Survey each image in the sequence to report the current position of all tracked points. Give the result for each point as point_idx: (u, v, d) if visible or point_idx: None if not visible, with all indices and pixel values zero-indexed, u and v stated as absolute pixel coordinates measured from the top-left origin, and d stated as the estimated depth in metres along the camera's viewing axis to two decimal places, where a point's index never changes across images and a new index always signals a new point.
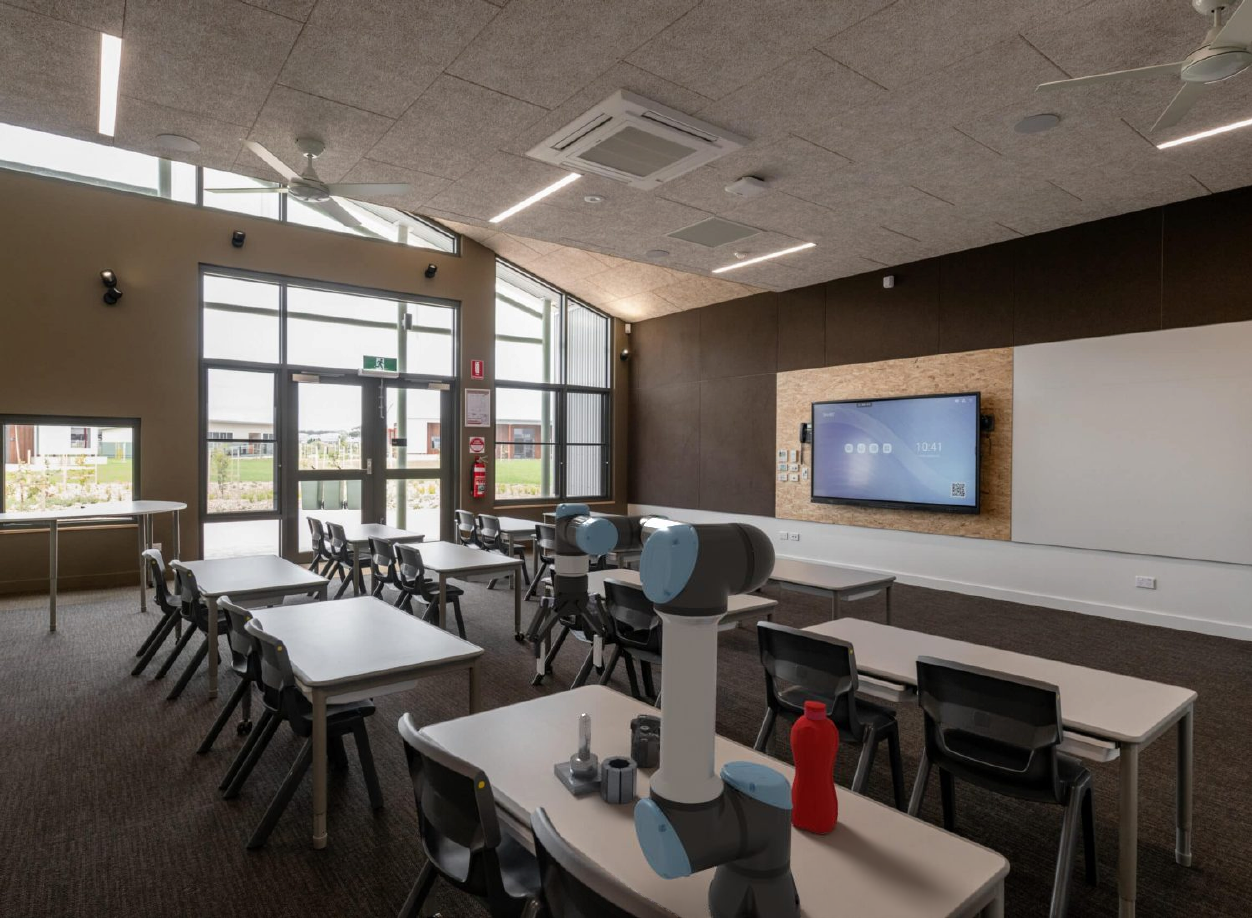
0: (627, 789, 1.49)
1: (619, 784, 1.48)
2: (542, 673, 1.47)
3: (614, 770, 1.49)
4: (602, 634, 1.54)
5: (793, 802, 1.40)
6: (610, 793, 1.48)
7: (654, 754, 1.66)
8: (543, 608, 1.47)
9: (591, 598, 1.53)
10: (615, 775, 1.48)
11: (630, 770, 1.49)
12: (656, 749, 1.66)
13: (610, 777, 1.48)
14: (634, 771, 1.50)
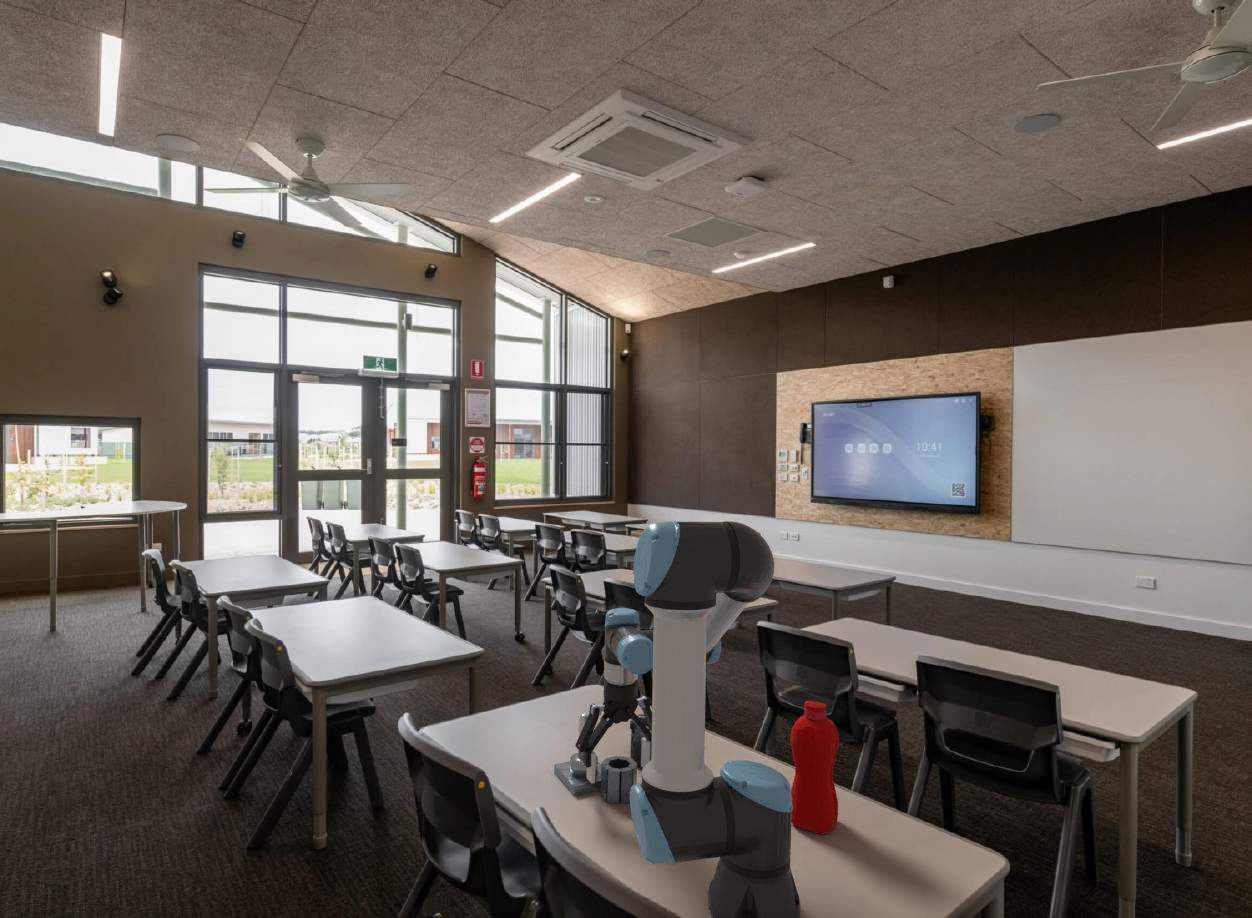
0: (627, 789, 1.49)
1: (619, 784, 1.48)
2: (593, 782, 1.48)
3: (614, 770, 1.49)
4: (650, 738, 1.54)
5: (793, 802, 1.40)
6: (610, 793, 1.48)
7: None
8: (594, 717, 1.48)
9: (640, 703, 1.54)
10: (615, 775, 1.48)
11: (630, 770, 1.49)
12: None
13: (610, 777, 1.48)
14: (634, 771, 1.50)
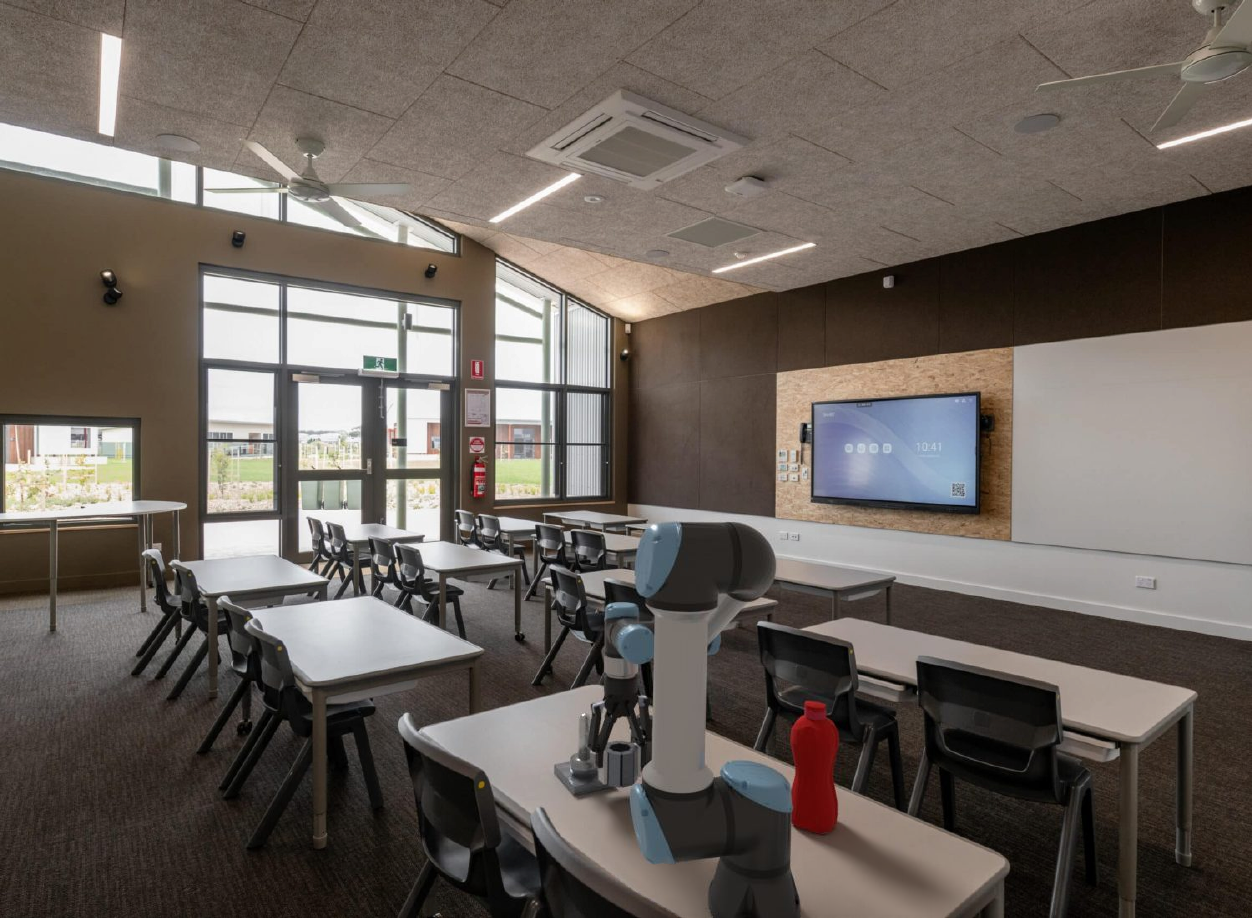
0: (628, 772, 1.48)
1: (620, 767, 1.47)
2: (605, 782, 1.48)
3: (615, 753, 1.48)
4: (641, 743, 1.52)
5: (793, 802, 1.40)
6: (611, 777, 1.48)
7: None
8: (597, 716, 1.48)
9: (640, 700, 1.53)
10: (616, 758, 1.48)
11: (631, 753, 1.48)
12: None
13: (611, 760, 1.48)
14: (635, 754, 1.50)
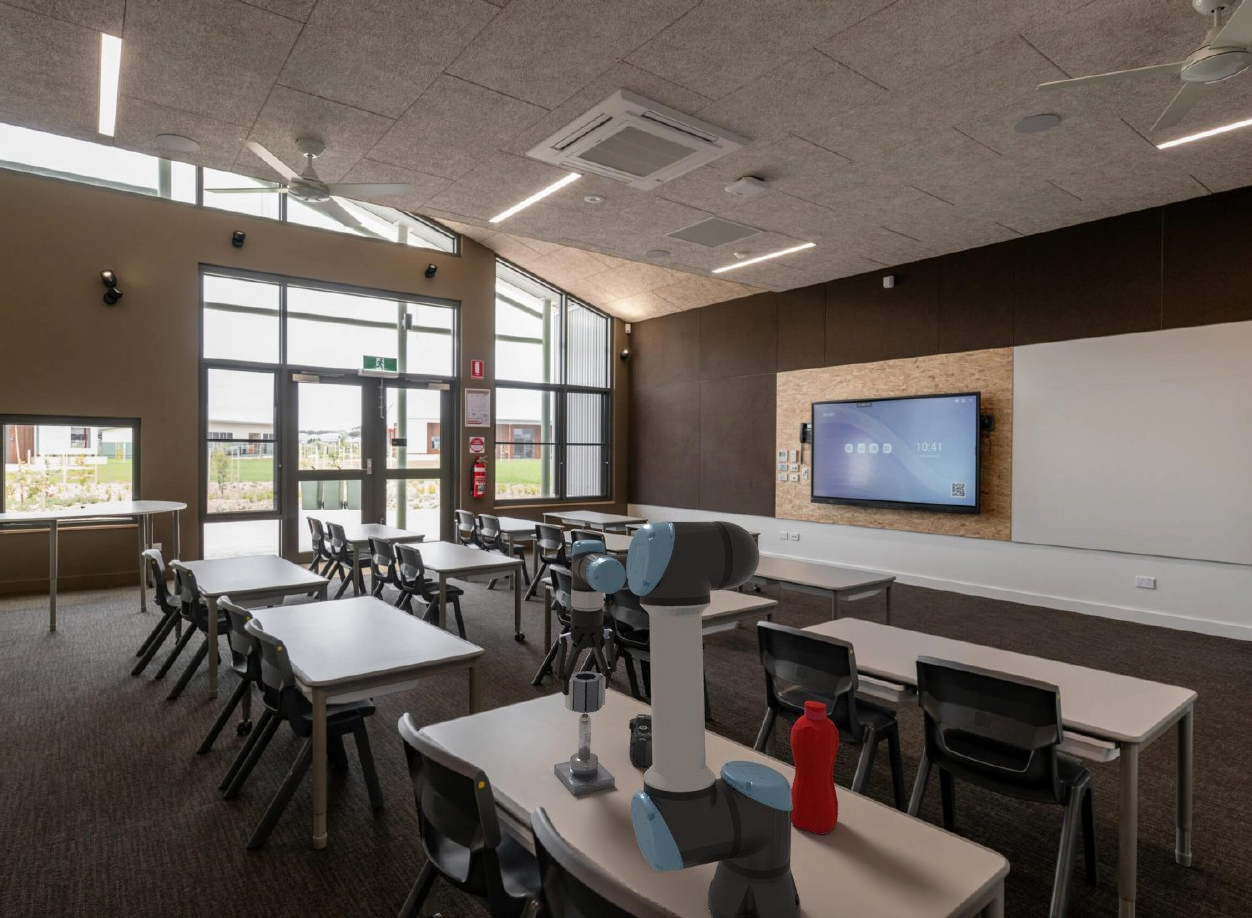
0: (592, 699, 1.56)
1: (585, 694, 1.55)
2: (570, 709, 1.56)
3: (580, 681, 1.56)
4: (606, 673, 1.60)
5: (793, 802, 1.40)
6: (576, 703, 1.56)
7: None
8: (563, 646, 1.55)
9: (605, 633, 1.61)
10: (581, 685, 1.55)
11: (595, 681, 1.56)
12: None
13: (576, 687, 1.55)
14: (599, 683, 1.57)
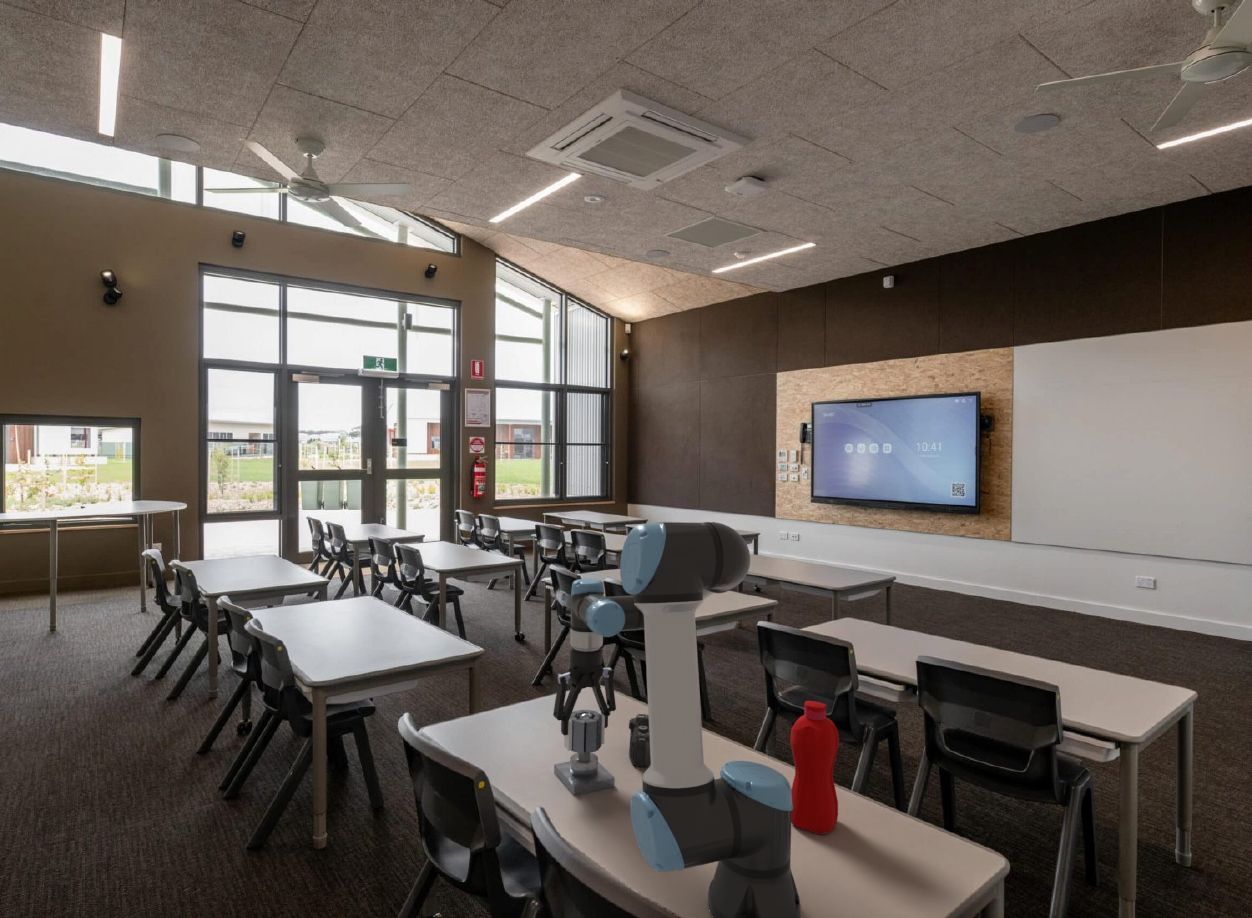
0: (592, 739, 1.56)
1: (584, 734, 1.55)
2: (570, 749, 1.56)
3: (579, 721, 1.56)
4: (605, 712, 1.60)
5: (793, 802, 1.40)
6: (575, 743, 1.56)
7: None
8: (562, 686, 1.55)
9: (604, 672, 1.61)
10: (580, 726, 1.55)
11: (595, 721, 1.56)
12: None
13: (575, 728, 1.56)
14: (599, 723, 1.57)
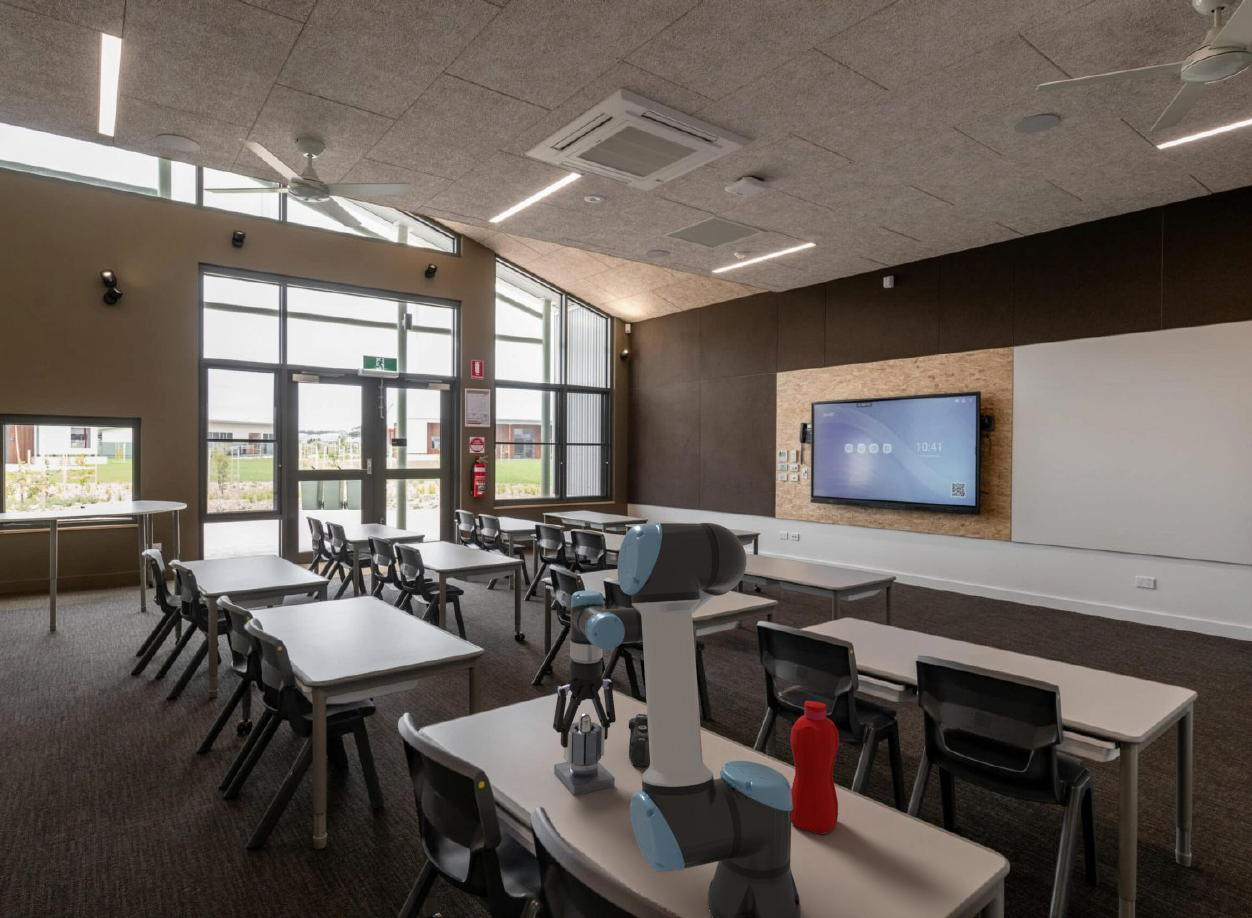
0: (591, 751, 1.56)
1: (584, 746, 1.55)
2: (569, 761, 1.56)
3: (579, 733, 1.56)
4: (605, 724, 1.60)
5: (793, 802, 1.40)
6: (575, 755, 1.56)
7: None
8: (562, 699, 1.55)
9: (604, 684, 1.61)
10: (580, 738, 1.55)
11: (594, 733, 1.56)
12: None
13: (575, 740, 1.56)
14: (598, 734, 1.57)
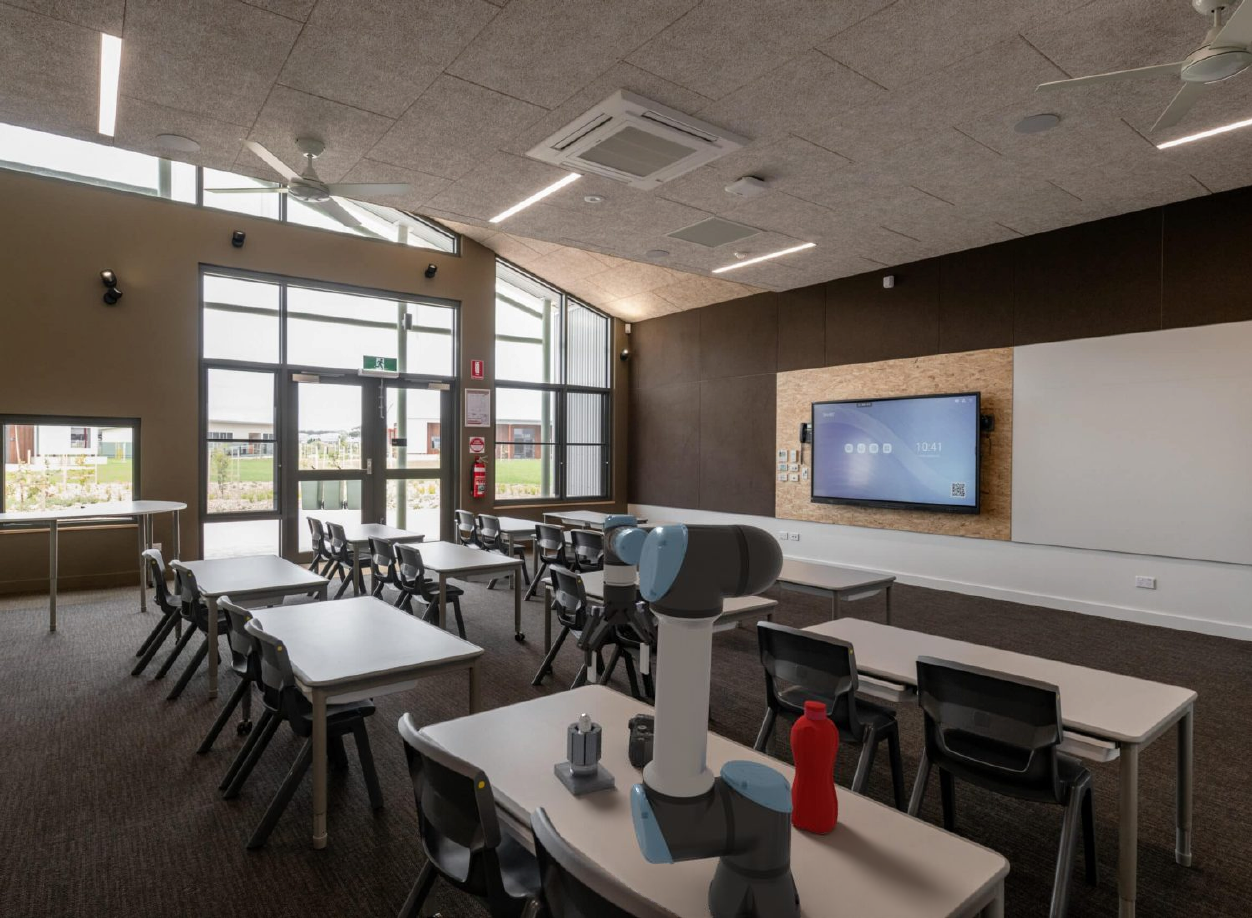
0: (591, 751, 1.56)
1: (584, 746, 1.55)
2: (594, 681, 1.51)
3: (579, 733, 1.56)
4: (649, 642, 1.58)
5: (793, 802, 1.40)
6: (575, 755, 1.56)
7: (651, 754, 1.66)
8: (594, 617, 1.51)
9: (638, 607, 1.57)
10: (580, 738, 1.55)
11: (594, 733, 1.56)
12: None
13: (575, 740, 1.56)
14: (598, 734, 1.57)
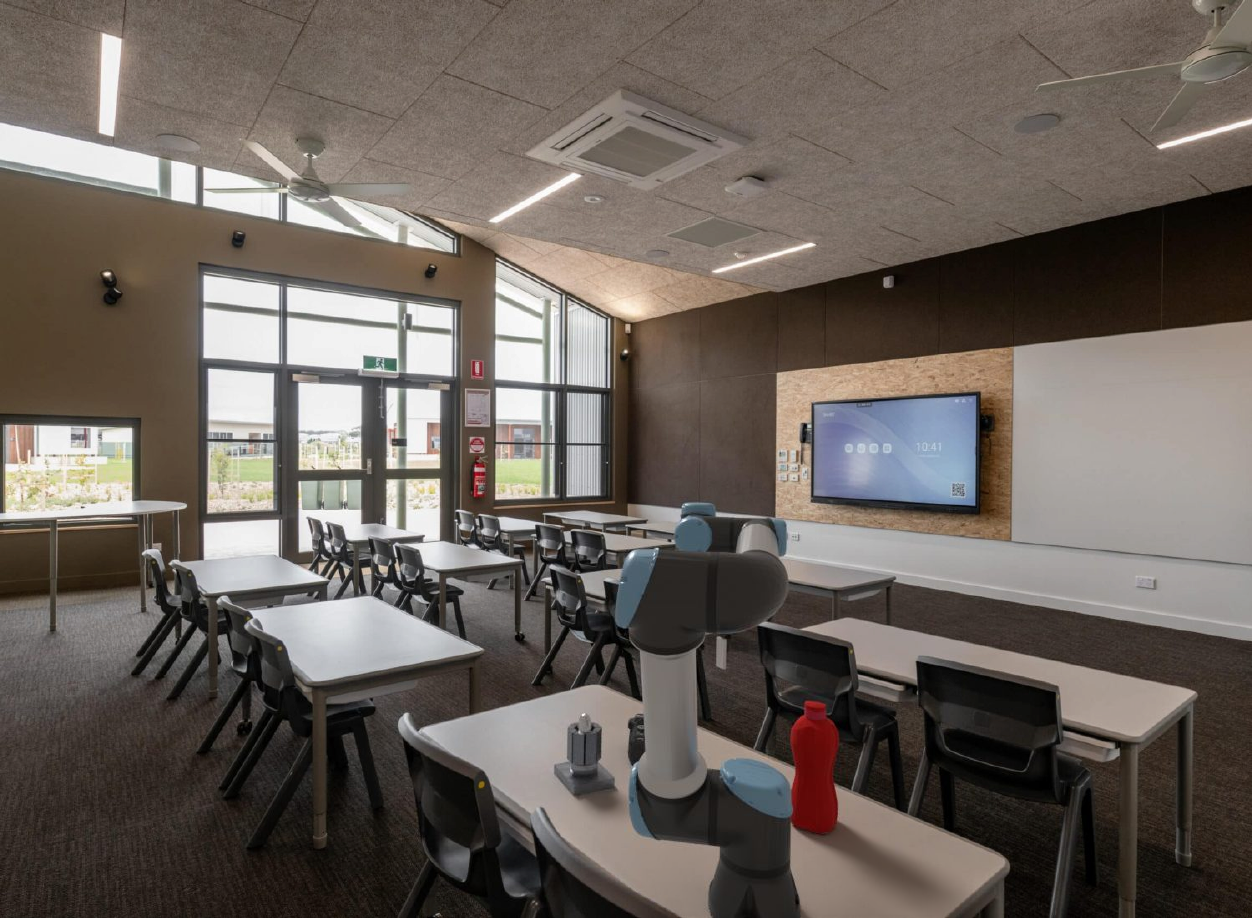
0: (591, 751, 1.56)
1: (584, 746, 1.55)
2: None
3: (579, 733, 1.56)
4: (727, 636, 1.51)
5: (793, 802, 1.40)
6: (575, 755, 1.56)
7: None
8: None
9: None
10: (580, 738, 1.55)
11: (594, 733, 1.56)
12: None
13: (575, 740, 1.56)
14: (598, 734, 1.57)
